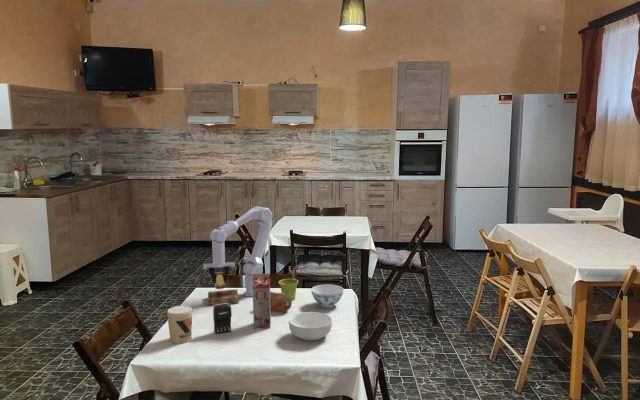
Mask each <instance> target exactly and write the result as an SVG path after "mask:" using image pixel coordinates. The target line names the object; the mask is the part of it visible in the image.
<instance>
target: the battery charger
mask: <svg viewBox="0 0 640 400" xmlns="http://www.w3.org/2000/svg"><path fill="white" fill-rule="evenodd" d="M232 315H233V313H232V307H231V304H228V303H222V304H216V305H213V308H212V319H213V320H212V321H213V332H214V333H215V334H217V335H218V334H225V333H229V332H231V331H232Z"/></svg>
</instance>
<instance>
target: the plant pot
mask: <svg viewBox="0 0 640 400" xmlns="http://www.w3.org/2000/svg"><path fill="white" fill-rule="evenodd" d="M298 283H299V280H298V279H296V278H283V279H281V280H279V281H278V284H279V287H280V291H281V292H280V293H286V294H288V295H289V296H290V298H291V300H292V301H293V300H295V299H296V296H297V295H296V293H297V286H298Z"/></svg>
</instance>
